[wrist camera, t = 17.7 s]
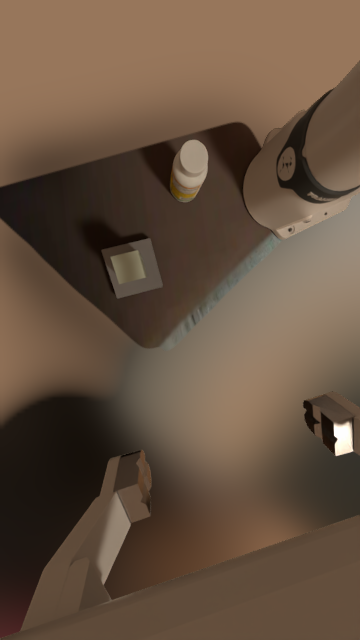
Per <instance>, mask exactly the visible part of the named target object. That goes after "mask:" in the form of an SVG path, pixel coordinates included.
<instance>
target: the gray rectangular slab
mask: <svg viewBox="0 0 360 640" xmlns="http://www.w3.org/2000/svg"><path fill="white" fill-rule="evenodd" d="M136 250H138V251H139V253H140V254H141V256H142V259H143V263H144V266H145V270H146V273H147V277H146V278H142V279H138V280H134V281H130V282H126V283H122V284H119V282H118V279H117V276H116V273H115V270H114V266H113V263H112V260H111V257H112V256H116V255H120V254H124V253H128V252H132V251H136ZM101 251H102V254H103V257H104V260H105V263H106V266H107V269H108V272H109V275H110V278H111V281H112V284H113V288H114V291H115V294H116V297H117V299H118V298H121V297H125V296H129V295H133V294H137V293H141V292H145V291H148V290H152V289H156V288H160V287H163V285H162V281H161V277H160V273H159V269H158V266H157V262H156V258H155V254H154V251H153V247H152V243H151V239H150V238H148V239H144V240H140V241H136V242H132V243H128V244H123V245H119V246H115V247H111V248H107V249H103V250H101Z"/></svg>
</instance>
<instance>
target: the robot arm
mask: <svg viewBox="0 0 360 640" xmlns="http://www.w3.org/2000/svg"><path fill="white" fill-rule="evenodd" d="M358 193H360V61H359V62H358V63H357V64H356V65H355V67H354V68H353V69H352V70H351V71H350V72H349V73H348V74H347V76H346V77H345V78H344V79H343V80H342V81H341V82H340V83H339V84H338V85H337V86H336V87H335V88H334V89H332V90H330V91H328V92H327V93H326V94H324V95H323V96H322V97H321V98H320V99H319V100H317V101H316V102H315V103H314V104H313V105H312V106H311V107H310V108H309V109H308V110H307V111H305V110H301V111H300V112H298V113H297V114H296V115H295V116H294V117H293V118H292V119H291V120H290V121H289V122H288V123H287V124H286V125H284V126H283V128H275V129H273V130H272V131H271V132H270V133H269V134H268V135H267V137H266V139H265V142H264V144H263V147H262V149H261V151H260V152H259V153H258V154H257V155H256V157H255V158H254V159H253V160H252V162H251V163H250V165H249V167H248V169H247V172H246V175H245V178H244V185H243V194H244V200H245V204H246V207H247V209H248V211H249V213H250V214H251V216H252V217H253V218H254V219H255V220H256V221H257V222H258V223H259V224H261V225H263V226H265V227H267V228H269V229H271V230H272V231H273V232H274V234H275V235H276V236H277V237H278V238H279V239H286V238H288V237H290V236H292V235H294V234H296V233H298V232H300V231H302V230H304V229H306V228H308V227H311V226H312V225H315V224H317V223H319V222H321V221H323V220H325V219H327V218H329V217H331V216H333V215H335V214H337V213H339V212H341V211H343V210H345V209H346V208H347V206H348V204H349V202H350V199H351V197H352V196H354V195H356V194H358ZM288 229H290V232H289V231H288ZM303 407H304V408H305V409H306V412H305V414H304V418H305V422H306V424H307V426H308V428H309V429H310V430H311V432H313V434H314V435H315V436H318V437H320V438H322V441H323V444H324V445H325V446H326V447H327V448H328V449H329V450H330V451H331V452H332V453H333V454H334V455H335V456H338V455H341V454H345V453H348V452H352V451H354V452H355V453H357V454H359V455H360V408H359V407H358V406H356V405H355V404H353V403H352V402H350V401H349V400H347V399H346V398H344V397H342V396H341V395H340V394H338V393H336V392H333V391H332V392H329V393H326V394H323V395H319V396H316V397H313V398H310V399H307V400H304V402H303ZM150 488H151V473H150V468H149V465H148V463H147V462H146V461H145V454H144V452H143V450H139V451H135V452H132V453H128V454H125V455H121V456H118V457H114V458H111V459H110V460H109V462H108V466H107V470H106V474H105V478H104V482H103V485H102V489H101V493H100V497H97V498H96V499H95V500H94V501H93V503H92V504H91V506H90V507H89V508H88V510H87V511H86V513H85V514H84V515H83V517H82V518H81V519H80V521H79V522H78V523H77V525H76V526H75V527H74V529H73V530H72V531H71V533H70V534H69V536H68V537H67V538H66V540H65V541H64V543H63V544H62V545H61V546H60V548H59V549H58V551H57V552H56V553H55V555H54V556H53V557H52V559H51V560H50V562H49V563H48V564H47V565H46V567H45V568H44V570H43V573H42V575H41V578H40V581H39V583H38V586H37V588H36V591H35V593H34V596H33V599H32V602H31V604H30V607H29V609H28V612H27V614H26V617H25V620H24V622H23V625H22V628H21V630H20V632H18V633H15V634H12V635H9V636H6V637H3V638H0V640H360V515H358V516H355V517H352V518H349V519H347V520H343V521H340V522H338V523H335V524H332V525H329V526H326V527H323V528H320V529H317V530H314V531H311V532H308V533H305V534H303V535H300V536H297V537H294V538H291V539H288V540H285V541H282V542H279V543H277V544H274V545H271V546H268V547H265V548H262V549H259V550H257V551H253V552H250V553H248V554H245V555H242V556H239V557H236V558H233V559H230V560H227V561H224V562H222V563H219V564H216V565H213V566H210V567H207V568H204V569H201V570H199V571H195V572H192V573H190V574H187V575H184V576H181V577H178V578H175V579H173V580H169V581H166V582H163V583H161V584H158V585H155V586H152V587H149V588H146V589H143V590H140V591H137V592H134V593H132V594H129V595H126V596H123V597H120V598H117V599H114V600H111V598H110V596H109V594H108V593H107V591H106V589H105V587H104V583H105V581H106V579H107V576H108V574H109V572H110V570H111V567H112V565H113V563H114V560H115V558H116V556H117V554H118V552H119V550H120V547H121V545H122V543H123V541H124V538H125V536H126V534H127V532H128V530H129V528H130V525H131V524H130V523H132V522H135V521H138V520H140V519H143V518H146V517H149V516H151V497H150V494H149V490H150Z"/></svg>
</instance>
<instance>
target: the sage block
mask: <svg viewBox="0 0 360 640" xmlns="http://www.w3.org/2000/svg"><path fill="white" fill-rule="evenodd" d="M111 260H112V263H113V266H114V270H115V273H116V276H117V279H118V282H119V284H122V283H126V282H130V281H134V280H138V279H142V278H146V277H147V273H146V270H145V266H144V263H143V259H142V256H141V254H140V253H139V251H138V250H136V251H132V252H128V253H124V254H120V255H116V256H112V257H111Z"/></svg>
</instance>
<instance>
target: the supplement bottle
mask: <svg viewBox="0 0 360 640" xmlns="http://www.w3.org/2000/svg"><path fill="white" fill-rule="evenodd" d="M207 162H208V153H207V150H206V148H205V146H204V145H203V144H202V143H201V142H199V141H197V140H189V141H187V142H186V143H185V144H184V145H183V146H182V148H181V150H180V151H179V152H178V153H177V154H176V156H175V158H174V161H173V167H172V173H171V179H170V190H171V193H172V195H173V196H174V197H175V198H176V199H177V200H178V201H181V202H189V201H191V200H192V199H193V198H194V197H195V196H196V195H197V193H198V191H199V189H200V187H201V185H202V183H203V181H204V180H205V177H206V175H207V169H208V166H207Z"/></svg>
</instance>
